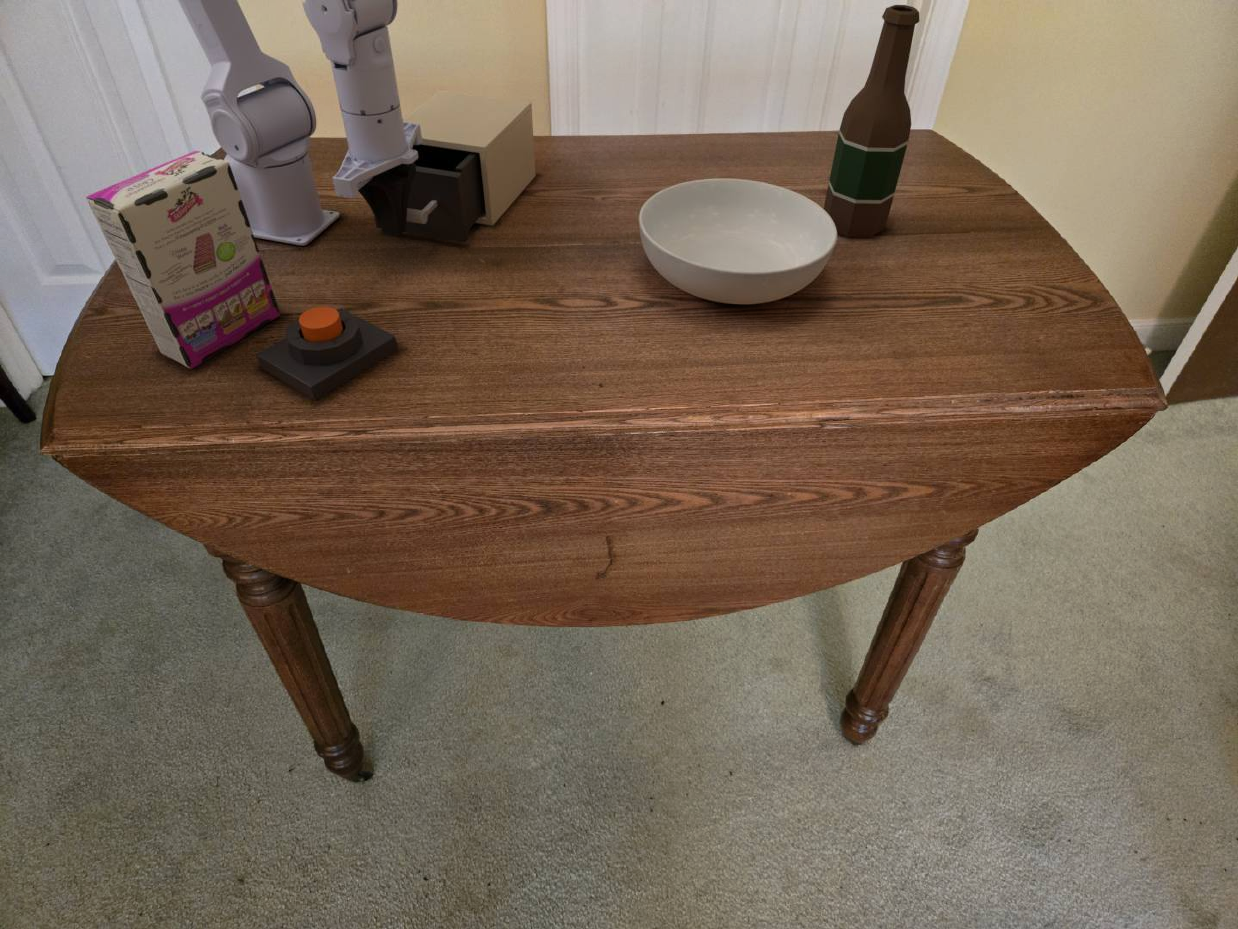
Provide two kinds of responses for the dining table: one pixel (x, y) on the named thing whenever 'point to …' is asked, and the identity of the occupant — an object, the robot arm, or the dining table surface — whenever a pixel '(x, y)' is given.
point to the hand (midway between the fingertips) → (394, 232)
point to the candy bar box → (188, 255)
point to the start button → (320, 324)
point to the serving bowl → (736, 239)
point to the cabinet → (484, 141)
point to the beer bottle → (874, 135)
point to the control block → (327, 356)
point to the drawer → (444, 193)
